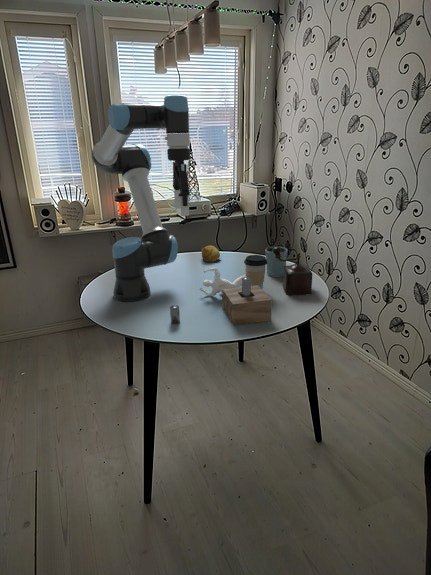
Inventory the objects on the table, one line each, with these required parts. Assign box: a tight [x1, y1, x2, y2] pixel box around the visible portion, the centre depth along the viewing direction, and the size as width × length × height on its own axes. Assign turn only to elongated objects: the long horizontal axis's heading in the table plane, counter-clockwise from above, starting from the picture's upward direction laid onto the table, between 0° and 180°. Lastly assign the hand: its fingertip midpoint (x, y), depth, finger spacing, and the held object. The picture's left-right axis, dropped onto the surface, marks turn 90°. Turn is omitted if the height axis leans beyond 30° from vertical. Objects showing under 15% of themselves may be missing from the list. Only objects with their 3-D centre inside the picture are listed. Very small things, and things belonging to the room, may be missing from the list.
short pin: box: [169, 304, 181, 325], centre depth 134 cm, size 3×3×6 cm
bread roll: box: [200, 245, 221, 262], centre depth 201 cm, size 13×10×8 cm
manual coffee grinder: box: [272, 246, 313, 296], centre depth 157 cm, size 16×11×18 cm
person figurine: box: [199, 267, 247, 297], centre depth 153 cm, size 13×13×18 cm
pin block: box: [222, 285, 273, 326], centre depth 138 cm, size 14×14×8 cm
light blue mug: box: [264, 246, 288, 278], centre depth 176 cm, size 10×10×12 cm
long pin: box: [242, 277, 251, 298], centre depth 137 cm, size 3×3×14 cm
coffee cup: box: [243, 254, 267, 290], centre depth 156 cm, size 9×9×15 cm
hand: (181, 211), depth 133 cm, fingers open, 13 cm apart
